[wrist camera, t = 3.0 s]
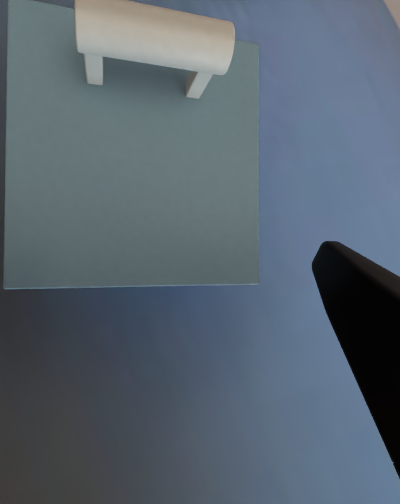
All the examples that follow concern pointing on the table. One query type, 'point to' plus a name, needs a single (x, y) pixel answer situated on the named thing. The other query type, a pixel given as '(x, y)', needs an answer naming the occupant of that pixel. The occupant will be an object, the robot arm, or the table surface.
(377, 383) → the robot arm
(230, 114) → the compartment lid
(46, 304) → the table surface
